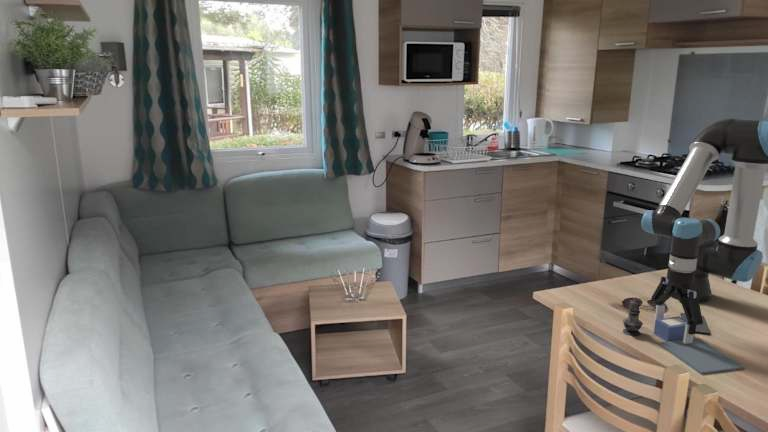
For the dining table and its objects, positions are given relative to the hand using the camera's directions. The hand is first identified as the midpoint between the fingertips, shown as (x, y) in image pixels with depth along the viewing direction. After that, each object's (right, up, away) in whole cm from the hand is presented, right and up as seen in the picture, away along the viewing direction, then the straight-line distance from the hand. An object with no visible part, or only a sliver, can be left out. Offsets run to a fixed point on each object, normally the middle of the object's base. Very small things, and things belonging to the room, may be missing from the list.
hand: (672, 333), depth 183 cm
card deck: (0, -1, 0) cm, 1 cm away
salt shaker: (-12, -1, +3) cm, 12 cm away
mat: (+2, -4, -12) cm, 13 cm away
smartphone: (+12, +1, +9) cm, 15 cm away
